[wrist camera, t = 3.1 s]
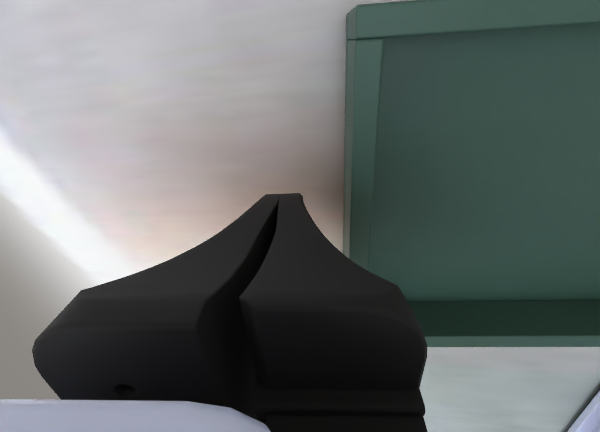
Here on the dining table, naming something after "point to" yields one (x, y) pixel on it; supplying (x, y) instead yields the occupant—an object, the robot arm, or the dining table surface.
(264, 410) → the robot arm
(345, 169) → the tray
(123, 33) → the dining table surface
